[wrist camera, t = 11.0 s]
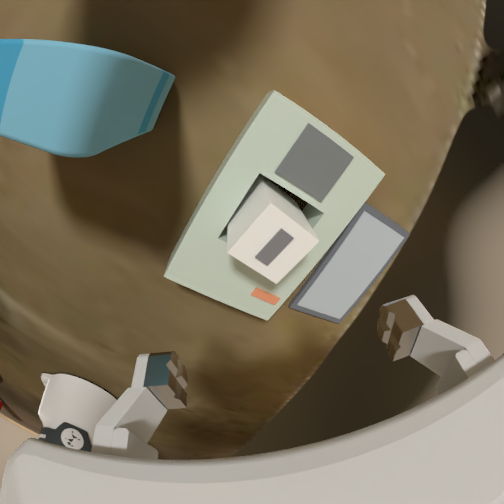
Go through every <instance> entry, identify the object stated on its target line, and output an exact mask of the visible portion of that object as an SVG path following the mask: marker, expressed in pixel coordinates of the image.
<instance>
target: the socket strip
mask: <svg viewBox="0 0 504 504" xmlns="http://www.w3.org/2000/svg"><path fill="white" fill-rule="evenodd" d="M259 173H260V174H262V175H264V176H265V177H267V178H269V179H270V180H272V181H274V182H275V183H277V184H279V185H280V186H282V187H284V188H285V189H287V190H289V191H290V192H292V193H293V194H295V195H297V196H298V197H300V198H301V199H303V200H304V201H306V202H308V203H307V205H306V206H305V207H304V209H303V210H302V212H303V214H304V216H305V217H306V219H307V221H308V222H309V224H310V226H311V228H312V229H313V231H314V233H315V234H316V236H317V238H318V240H319V242H318V243H317V244H316V245H315V246H314V247H313V248H312V249H311V250H310V251H309V252H308V253H307V254H306V255H305V256H304V257H303V258H302V259H301V260H300V261H299V262H298V263H297V264H296V265H295V266H294V267H293V268H292V269H291V270H290V271H289V272H288V273H287V274H286V275H285V276H284V277H283V278H282V279H281V280H280V281H279V282H278V283H277V284H276V283H274V282H272V281H271V280H269V279H268V278H266V277H265V276H263V275H261V274H260V273H258V272H257V271H255V270H253V269H252V268H250V267H249V266H247V265H246V264H244V263H242V262H241V261H239V260H238V259H236V258H235V257H233V256H231V255H230V254H228V253H227V231H228V221H229V220H230V218H231V217H232V215H233V214H234V212H235V210H236V209H237V207H238V206H239V204H240V203H241V201H242V199H243V198H244V196H245V195H246V193H247V192H248V190H249V189H250V187H251V186H252V184H253V182H254V181H255V179H256V178H257V176H258V175H259ZM384 175H385V174H384V173H383V172H382V171H381V170H380V169H379V168H378V167H377V166H376V165H374V164H373V163H372V162H371V161H370V160H369V159H368V158H366V157H365V156H364V155H363V154H362V153H361V152H359V151H358V150H357V149H356V148H355V147H353V146H352V145H351V144H350V143H348V142H347V141H346V140H345V139H343V138H342V137H341V136H340V135H338V134H337V133H336V132H334V131H333V130H332V129H330V128H329V127H328V126H326V125H325V124H324V123H322V122H321V121H320V120H318V119H317V118H315V117H314V116H313V115H311V114H310V113H308V112H307V111H306V110H304V109H303V108H301V107H300V106H298V105H297V104H295V103H294V102H292V101H291V100H289V99H288V98H286V97H285V96H283V95H281V94H280V93H278V92H277V91H275V90H273V91H270V92H267V94H266V95H265V97H264V98H263V100H262V101H261V103H260V104H259V106H258V107H257V109H256V110H255V112H254V113H253V115H252V116H251V118H250V119H249V121H248V122H247V124H246V125H245V127H244V128H243V130H242V131H241V133H240V135H239V136H238V138H237V139H236V141H235V142H234V144H233V146H232V147H231V149H230V150H229V152H228V154H227V155H226V157H225V159H224V160H223V162H222V164H221V165H220V167H219V169H218V170H217V172H216V174H215V175H214V177H213V179H212V180H211V182H210V184H209V185H208V187H207V189H206V191H205V192H204V194H203V196H202V198H201V199H200V201H199V203H198V205H197V207H196V208H195V210H194V212H193V214H192V216H191V217H190V219H189V221H188V223H187V225H186V227H185V228H184V230H183V232H182V234H181V236H180V238H179V240H178V242H177V244H176V246H175V247H174V249H173V251H172V253H171V256H170V259H169V262H168V265H167V268H166V271H165V274H164V277H166V278H168V279H170V280H172V281H174V282H176V283H179V284H181V285H183V286H185V287H188V288H190V289H192V290H194V291H197V292H199V293H201V294H203V295H206V296H208V297H210V298H213V299H215V300H217V301H220V302H222V303H225V304H227V305H229V306H232V307H234V308H237V309H239V310H242V311H244V312H247V313H249V314H251V315H254V316H257V317H259V318H262V319H264V320H267V321H268V320H269V318H270V317H271V316H272V315H273V314H274V313H275V312H276V311H277V309H278V308H279V307H280V306H281V305H282V304H283V303H284V301H285V300H286V299H287V298H288V297H289V296H290V294H291V293H292V292H293V291H294V290H295V289H296V287H297V286H298V285H299V284H300V283H301V282H302V280H303V279H304V278H305V277H306V276H307V274H308V273H309V272H310V271H311V270H312V268H313V267H314V266H315V265H316V264H317V262H318V261H319V260H320V259H321V257H322V256H323V255H324V254H325V253H326V251H327V250H328V249H329V248H330V246H331V245H332V244H333V243H334V241H335V240H336V239H337V238H338V236H339V235H340V234H341V233H342V231H343V230H344V229H345V227H346V226H347V225H348V224H349V222H350V221H351V220H352V218H353V217H354V216H355V214H356V213H357V212H358V211H359V209H360V208H361V207H362V205H363V204H364V203H365V201H366V200H367V199H368V197H369V196H370V195H371V193H372V192H373V190H374V189H375V188H376V186H377V185H378V184H379V182H380V181H381V179H382V178H383V177H384Z"/></svg>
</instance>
